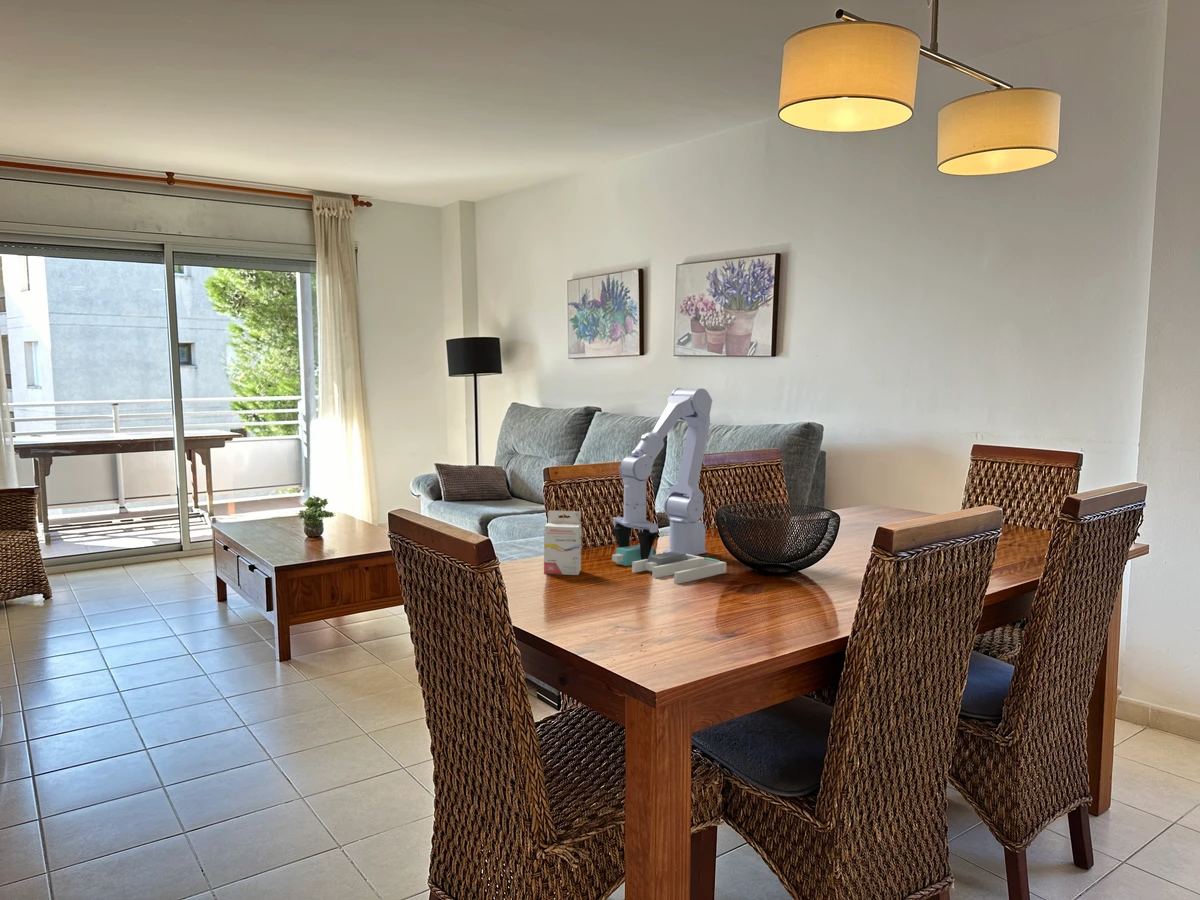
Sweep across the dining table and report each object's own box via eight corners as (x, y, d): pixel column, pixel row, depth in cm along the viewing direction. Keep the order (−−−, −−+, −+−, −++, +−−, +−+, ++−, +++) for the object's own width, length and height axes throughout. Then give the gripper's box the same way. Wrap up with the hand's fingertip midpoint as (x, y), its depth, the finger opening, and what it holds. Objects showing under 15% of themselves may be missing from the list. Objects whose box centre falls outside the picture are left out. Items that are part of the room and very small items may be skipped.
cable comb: (679, 561, 210) (680, 551, 210) (726, 572, 199) (726, 561, 199) (631, 572, 199) (631, 561, 199) (677, 584, 188) (677, 572, 187)
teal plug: (648, 558, 215) (648, 543, 215) (658, 560, 212) (659, 545, 212) (609, 564, 207) (609, 549, 207) (619, 567, 204) (619, 551, 204)
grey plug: (679, 565, 207) (679, 549, 207) (691, 568, 204) (691, 552, 204) (642, 573, 198) (642, 557, 198) (654, 576, 195) (654, 560, 195)
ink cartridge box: (543, 574, 196) (543, 513, 195) (546, 569, 201) (546, 510, 200) (579, 575, 195) (579, 514, 194) (581, 570, 200) (581, 510, 199)
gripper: (604, 501, 211) (603, 553, 212) (643, 508, 200) (643, 563, 202) (624, 499, 216) (623, 550, 217) (663, 505, 205) (663, 559, 206)
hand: (634, 556), depth 210 cm, fingers open, 7 cm apart
